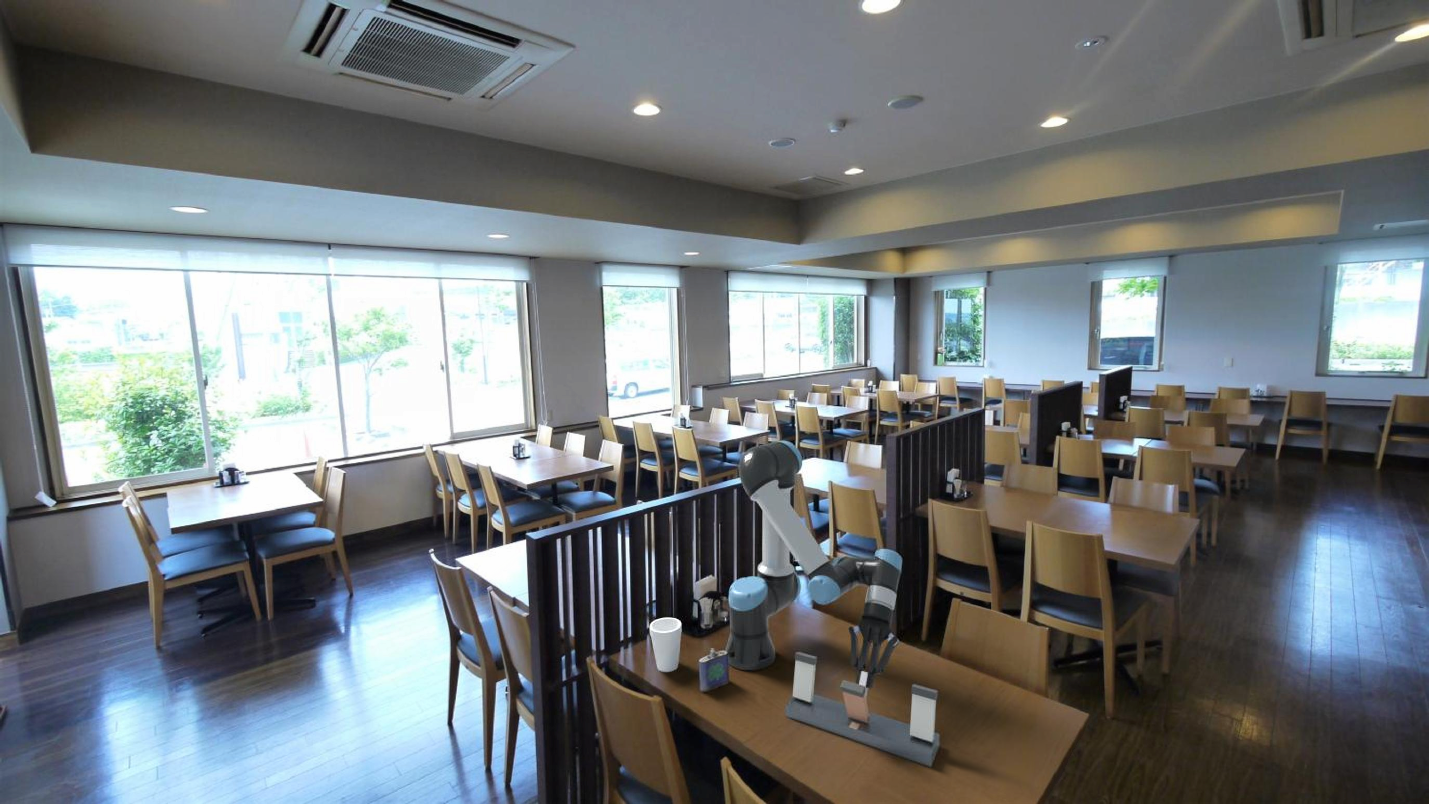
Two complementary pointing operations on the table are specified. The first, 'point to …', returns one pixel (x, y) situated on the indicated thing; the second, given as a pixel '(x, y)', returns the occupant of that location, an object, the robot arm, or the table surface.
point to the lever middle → (855, 700)
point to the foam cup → (666, 643)
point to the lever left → (804, 676)
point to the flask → (713, 670)
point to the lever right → (923, 712)
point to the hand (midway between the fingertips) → (860, 700)
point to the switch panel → (864, 728)
